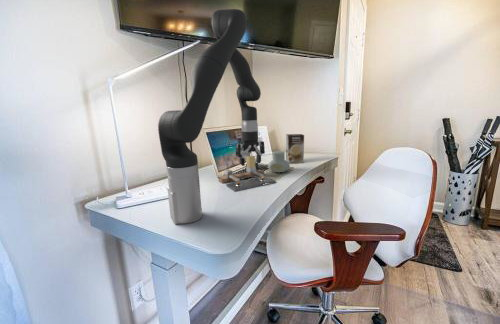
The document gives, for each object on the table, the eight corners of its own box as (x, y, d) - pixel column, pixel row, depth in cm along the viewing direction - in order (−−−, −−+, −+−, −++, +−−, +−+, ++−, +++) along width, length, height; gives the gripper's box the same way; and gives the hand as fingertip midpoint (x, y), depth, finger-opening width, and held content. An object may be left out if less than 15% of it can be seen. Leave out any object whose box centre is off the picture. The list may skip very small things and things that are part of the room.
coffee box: (288, 163, 146) (288, 135, 142) (285, 161, 152) (285, 134, 149) (303, 163, 146) (304, 135, 143) (301, 160, 153) (301, 133, 149)
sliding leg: (260, 179, 113) (259, 160, 111) (246, 173, 124) (245, 155, 122) (266, 178, 115) (265, 159, 113) (251, 172, 126) (251, 155, 124)
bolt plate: (234, 191, 104) (234, 188, 103) (226, 186, 111) (226, 183, 110) (275, 182, 113) (275, 180, 113) (265, 178, 120) (265, 176, 120)
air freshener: (290, 169, 133) (290, 150, 131) (288, 174, 126) (288, 154, 123) (270, 169, 137) (269, 150, 134) (266, 173, 129) (266, 153, 127)
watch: (248, 167, 142) (247, 147, 139) (261, 168, 137) (260, 148, 135) (242, 169, 137) (241, 149, 134) (255, 171, 133) (255, 150, 130)
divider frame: (230, 189, 107) (230, 177, 106) (218, 181, 118) (218, 170, 117) (274, 180, 117) (274, 169, 116) (259, 173, 128) (259, 163, 127)
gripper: (239, 132, 112) (241, 168, 116) (267, 129, 119) (267, 163, 122) (232, 130, 118) (234, 164, 122) (258, 128, 125) (259, 160, 129)
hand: (251, 164), depth 122 cm, fingers open, 8 cm apart
